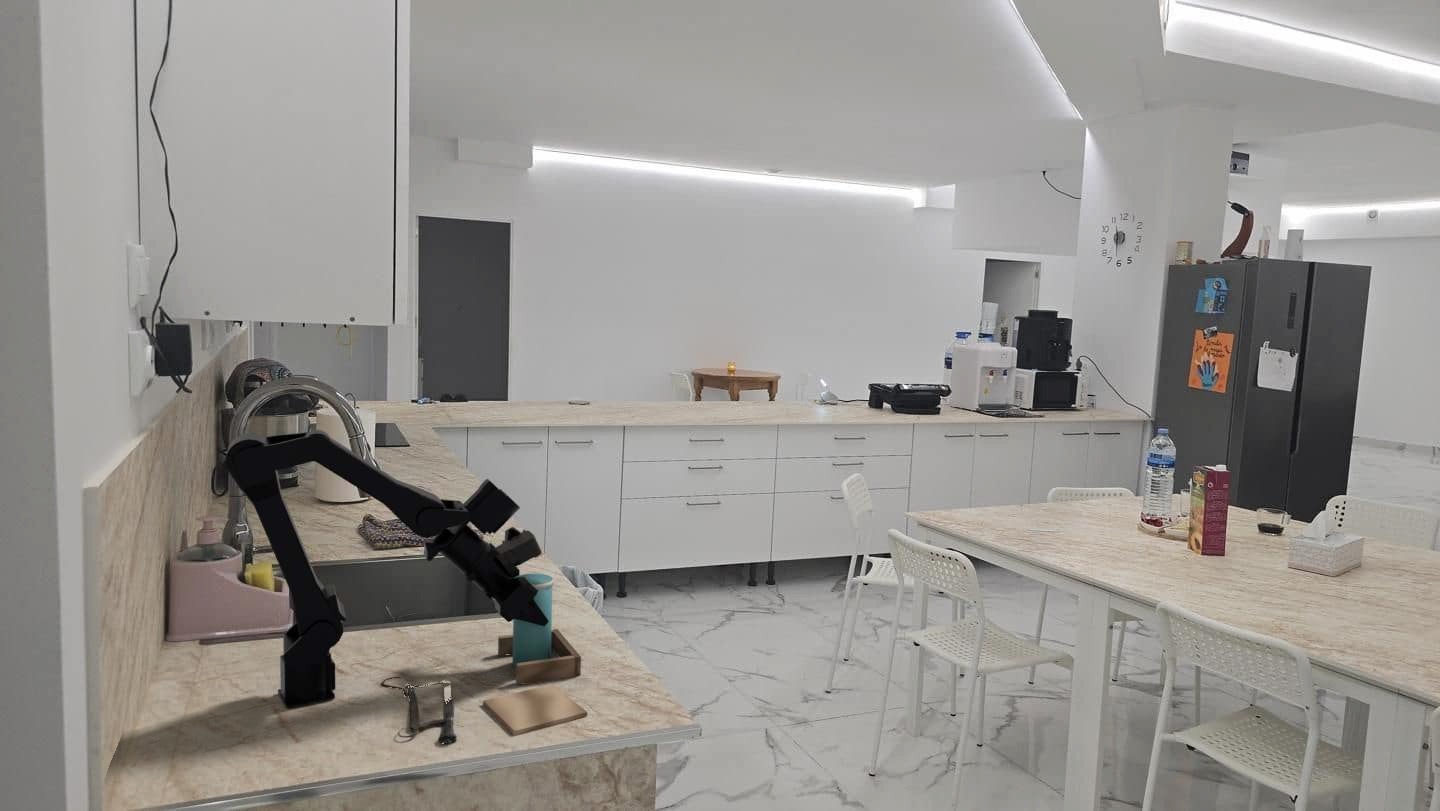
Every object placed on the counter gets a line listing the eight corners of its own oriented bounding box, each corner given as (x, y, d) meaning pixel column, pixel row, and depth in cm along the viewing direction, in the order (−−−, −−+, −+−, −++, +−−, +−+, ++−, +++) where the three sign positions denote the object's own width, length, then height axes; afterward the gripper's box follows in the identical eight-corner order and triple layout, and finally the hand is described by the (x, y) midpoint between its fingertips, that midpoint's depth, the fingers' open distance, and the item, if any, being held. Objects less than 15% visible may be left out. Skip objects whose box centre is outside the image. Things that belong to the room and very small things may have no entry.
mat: (514, 735, 123) (514, 730, 123) (483, 704, 132) (483, 700, 132) (587, 715, 130) (587, 711, 130) (552, 687, 138) (552, 684, 138)
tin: (521, 674, 142) (523, 587, 141) (505, 661, 147) (507, 576, 146) (557, 666, 146) (560, 581, 144) (540, 653, 151) (542, 571, 149)
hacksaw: (457, 747, 120) (457, 737, 120) (373, 757, 117) (373, 745, 117) (451, 674, 143) (451, 665, 142) (381, 680, 139) (381, 671, 139)
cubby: (517, 684, 139) (517, 665, 139) (498, 654, 151) (498, 636, 150) (580, 675, 143) (581, 656, 143) (557, 646, 155) (557, 628, 155)
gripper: (525, 531, 134) (594, 596, 140) (496, 504, 150) (560, 563, 157) (469, 588, 131) (543, 652, 137) (446, 554, 148) (513, 613, 154)
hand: (541, 617), depth 146 cm, fingers closed on tin, 6 cm apart
